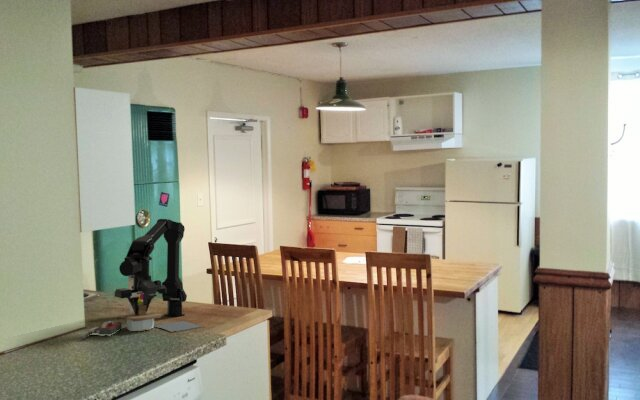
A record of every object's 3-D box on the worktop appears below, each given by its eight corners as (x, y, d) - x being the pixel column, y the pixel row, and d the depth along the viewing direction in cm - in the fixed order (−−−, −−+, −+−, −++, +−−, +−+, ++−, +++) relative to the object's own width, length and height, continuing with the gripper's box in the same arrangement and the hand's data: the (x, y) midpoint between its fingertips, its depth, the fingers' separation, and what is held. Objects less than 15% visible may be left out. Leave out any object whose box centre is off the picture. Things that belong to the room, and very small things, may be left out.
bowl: (122, 328, 217) (122, 316, 217) (145, 324, 224) (145, 313, 224) (135, 333, 211) (135, 321, 211) (158, 329, 218) (158, 317, 217)
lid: (120, 316, 217) (120, 305, 217) (146, 313, 225) (146, 301, 225) (134, 321, 210) (134, 309, 210) (161, 317, 218) (161, 305, 217)
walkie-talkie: (100, 329, 218) (78, 342, 198) (100, 317, 218) (79, 329, 198) (123, 329, 218) (104, 342, 198) (123, 318, 218) (104, 330, 198)
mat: (154, 326, 221) (154, 325, 221) (183, 322, 230) (183, 321, 230) (172, 332, 212) (172, 331, 212) (201, 327, 221) (201, 326, 221)
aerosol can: (136, 318, 235) (137, 270, 235) (123, 316, 238) (124, 269, 238) (147, 315, 241) (148, 268, 241) (135, 314, 244) (136, 267, 244)
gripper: (128, 277, 205) (128, 320, 205) (174, 273, 218) (173, 313, 219) (114, 274, 213) (113, 315, 213) (159, 270, 226) (158, 309, 226)
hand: (140, 313), depth 217 cm, fingers open, 3 cm apart
